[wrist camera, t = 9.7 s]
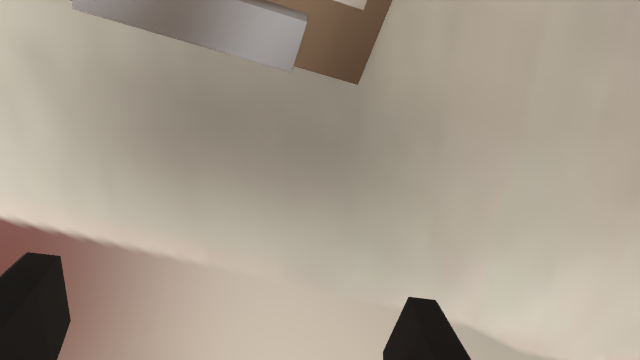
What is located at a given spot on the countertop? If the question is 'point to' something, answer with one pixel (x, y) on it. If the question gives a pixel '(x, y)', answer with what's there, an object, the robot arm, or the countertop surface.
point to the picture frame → (263, 29)
